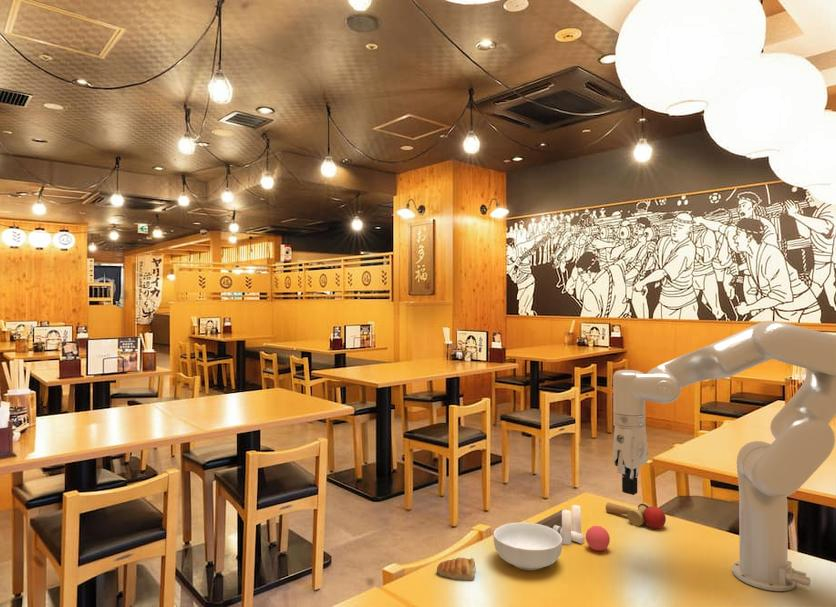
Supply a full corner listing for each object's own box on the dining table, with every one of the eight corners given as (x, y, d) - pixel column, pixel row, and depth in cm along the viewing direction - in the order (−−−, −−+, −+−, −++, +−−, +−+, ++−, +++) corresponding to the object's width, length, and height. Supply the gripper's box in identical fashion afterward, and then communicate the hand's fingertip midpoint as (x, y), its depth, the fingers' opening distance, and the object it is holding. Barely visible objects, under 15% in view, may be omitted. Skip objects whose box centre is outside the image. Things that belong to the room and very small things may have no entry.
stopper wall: (567, 524, 158) (567, 511, 158) (535, 541, 147) (535, 527, 147) (562, 523, 159) (562, 509, 159) (530, 540, 148) (530, 525, 148)
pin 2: (582, 537, 150) (582, 506, 150) (578, 539, 148) (577, 508, 148) (574, 534, 152) (574, 504, 152) (570, 537, 150) (570, 506, 150)
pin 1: (573, 542, 146) (572, 511, 146) (568, 545, 145) (568, 514, 145) (565, 540, 148) (564, 509, 148) (560, 542, 147) (560, 511, 147)
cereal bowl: (574, 561, 136) (574, 533, 136) (540, 587, 124) (540, 556, 124) (516, 541, 148) (516, 515, 148) (480, 563, 136) (480, 535, 136)
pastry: (436, 581, 128) (435, 564, 128) (437, 567, 135) (437, 551, 135) (476, 582, 127) (476, 566, 127) (475, 568, 134) (475, 553, 134)
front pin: (584, 533, 147) (557, 524, 153) (580, 535, 145) (552, 525, 151) (584, 542, 147) (556, 533, 153) (579, 544, 145) (552, 534, 151)
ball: (589, 525, 148) (599, 548, 145) (577, 532, 143) (588, 556, 141) (606, 520, 144) (618, 543, 142) (595, 527, 140) (606, 551, 138)
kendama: (600, 520, 165) (657, 531, 151) (600, 498, 166) (656, 507, 152) (615, 518, 169) (671, 529, 155) (614, 497, 171) (670, 506, 157)
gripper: (630, 427, 128) (630, 504, 128) (657, 417, 138) (657, 489, 139) (600, 422, 134) (601, 496, 134) (628, 413, 144) (629, 482, 144)
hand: (629, 492), depth 136 cm, fingers closed
